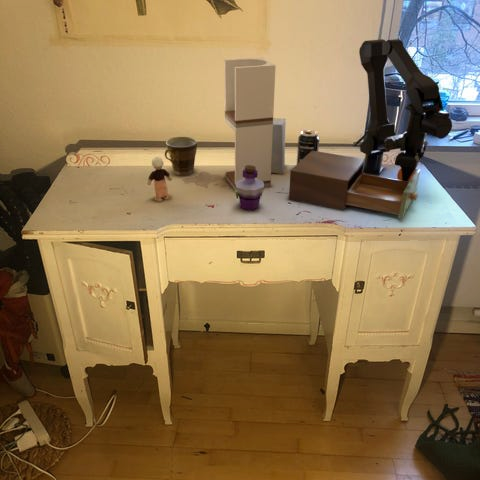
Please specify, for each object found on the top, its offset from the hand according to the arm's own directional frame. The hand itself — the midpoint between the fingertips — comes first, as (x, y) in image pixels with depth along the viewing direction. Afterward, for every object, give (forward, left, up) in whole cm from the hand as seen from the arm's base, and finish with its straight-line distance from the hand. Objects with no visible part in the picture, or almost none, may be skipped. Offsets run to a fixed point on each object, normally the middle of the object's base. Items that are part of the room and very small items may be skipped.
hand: (406, 179), depth 164 cm
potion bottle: (+34, -38, -3) cm, 51 cm away
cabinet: (+15, -21, -3) cm, 26 cm away
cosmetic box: (+4, -43, -3) cm, 43 cm away
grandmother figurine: (+41, -64, -3) cm, 76 cm away
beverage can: (-1, -33, -3) cm, 33 cm away
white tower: (+18, -46, -3) cm, 49 cm away
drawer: (+15, -3, -2) cm, 15 cm away
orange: (0, 0, -2) cm, 2 cm away
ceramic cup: (+21, -69, -3) cm, 72 cm away
